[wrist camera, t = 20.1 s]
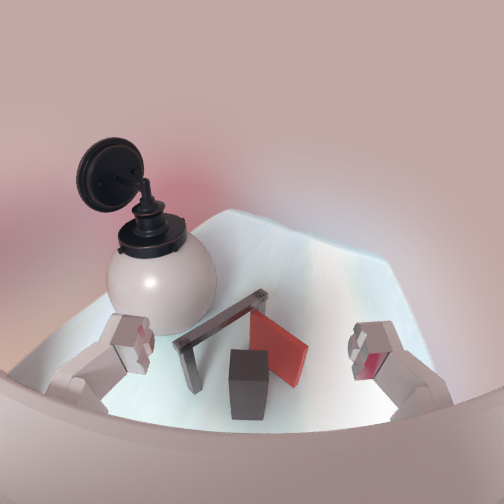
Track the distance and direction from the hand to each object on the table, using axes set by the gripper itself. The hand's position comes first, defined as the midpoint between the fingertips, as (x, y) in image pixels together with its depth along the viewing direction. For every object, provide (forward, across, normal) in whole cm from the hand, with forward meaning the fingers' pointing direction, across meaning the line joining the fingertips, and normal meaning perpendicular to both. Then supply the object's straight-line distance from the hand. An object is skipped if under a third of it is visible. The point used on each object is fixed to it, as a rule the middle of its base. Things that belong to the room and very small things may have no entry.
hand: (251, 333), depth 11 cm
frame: (+20, +4, +32) cm, 38 cm away
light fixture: (+31, +17, +32) cm, 48 cm away
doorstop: (+12, 0, +32) cm, 34 cm away
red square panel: (+19, -4, +31) cm, 37 cm away
